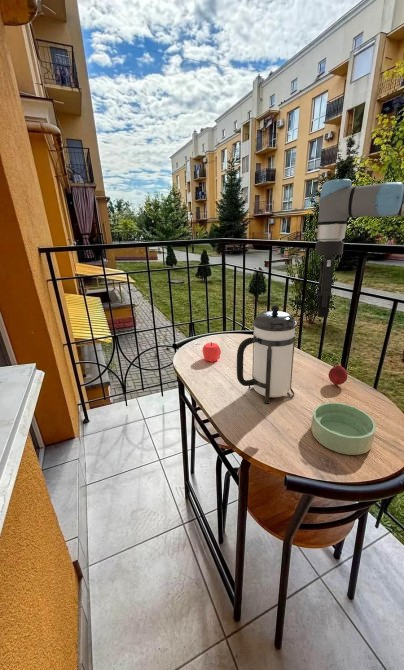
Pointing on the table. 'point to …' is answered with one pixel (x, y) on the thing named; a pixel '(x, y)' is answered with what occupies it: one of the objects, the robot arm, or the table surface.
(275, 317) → the coffee press
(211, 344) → the apple
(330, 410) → the bowl
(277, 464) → the table surface
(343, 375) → the onion
